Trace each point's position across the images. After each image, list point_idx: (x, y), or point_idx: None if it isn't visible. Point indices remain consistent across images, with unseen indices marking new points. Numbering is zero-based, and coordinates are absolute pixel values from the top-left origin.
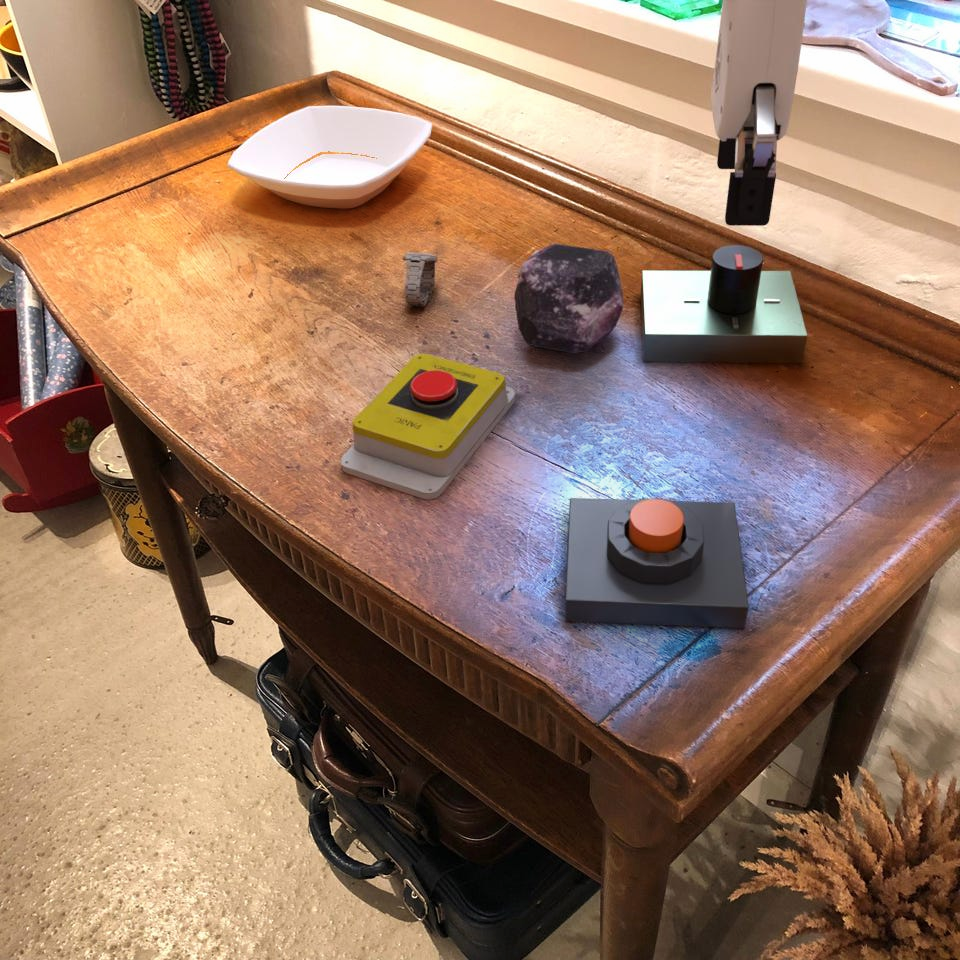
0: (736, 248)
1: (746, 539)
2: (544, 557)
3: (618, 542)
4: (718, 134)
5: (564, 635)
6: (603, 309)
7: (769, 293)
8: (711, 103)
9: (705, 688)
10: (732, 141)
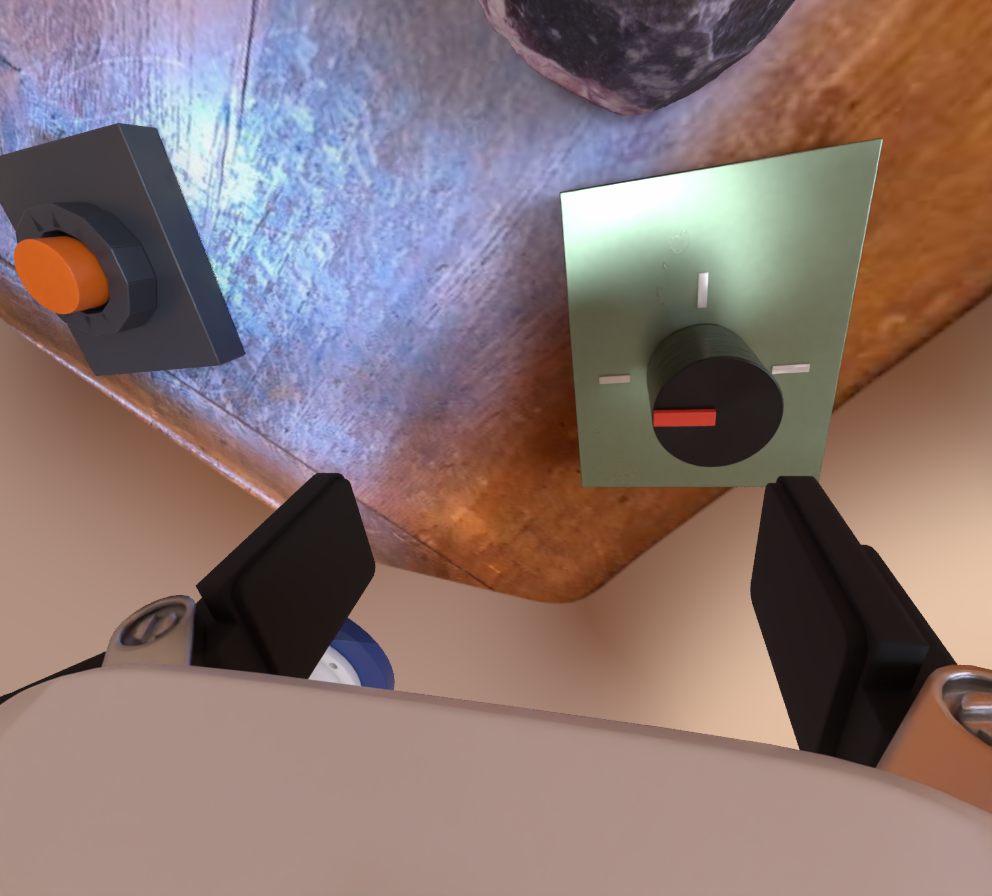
0: (764, 414)
1: (232, 370)
2: (81, 104)
3: (29, 224)
4: (18, 694)
5: None
6: (535, 61)
7: None
8: (709, 755)
9: (50, 329)
10: (799, 601)
